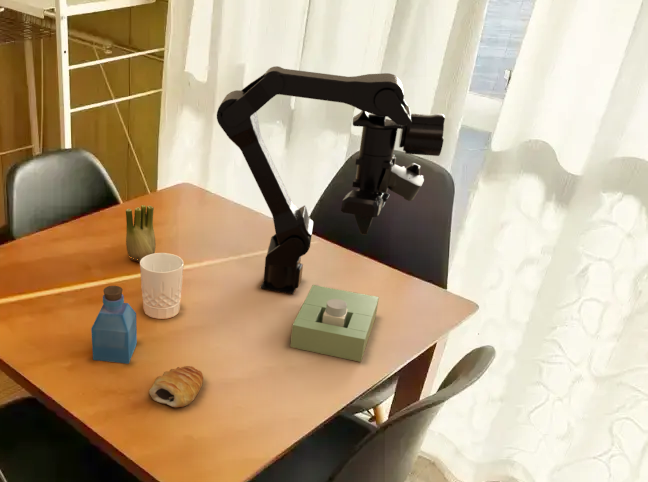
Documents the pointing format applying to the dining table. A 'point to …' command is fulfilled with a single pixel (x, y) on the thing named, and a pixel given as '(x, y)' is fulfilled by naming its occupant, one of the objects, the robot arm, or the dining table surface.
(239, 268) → the dining table surface
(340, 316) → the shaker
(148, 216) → the fennel bulb
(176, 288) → the white cup
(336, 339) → the stand
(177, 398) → the pastry
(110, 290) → the perfume bottle
